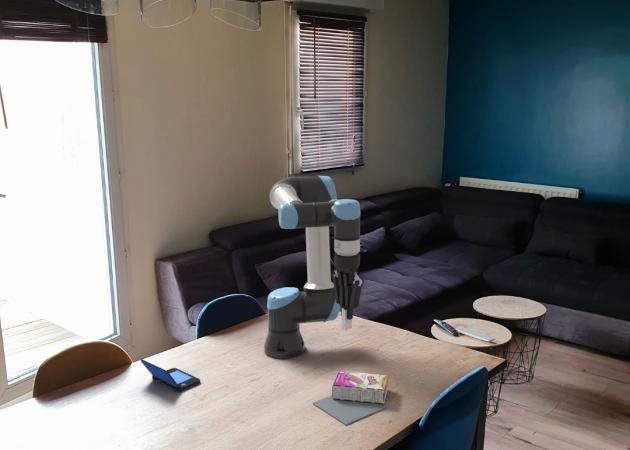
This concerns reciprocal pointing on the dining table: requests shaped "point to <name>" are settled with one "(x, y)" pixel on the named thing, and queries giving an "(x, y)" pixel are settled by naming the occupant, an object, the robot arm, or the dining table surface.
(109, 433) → the dining table surface
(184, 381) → the handheld game console
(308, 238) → the robot arm
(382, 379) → the candy bar box
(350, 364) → the dining table surface
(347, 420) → the mat
